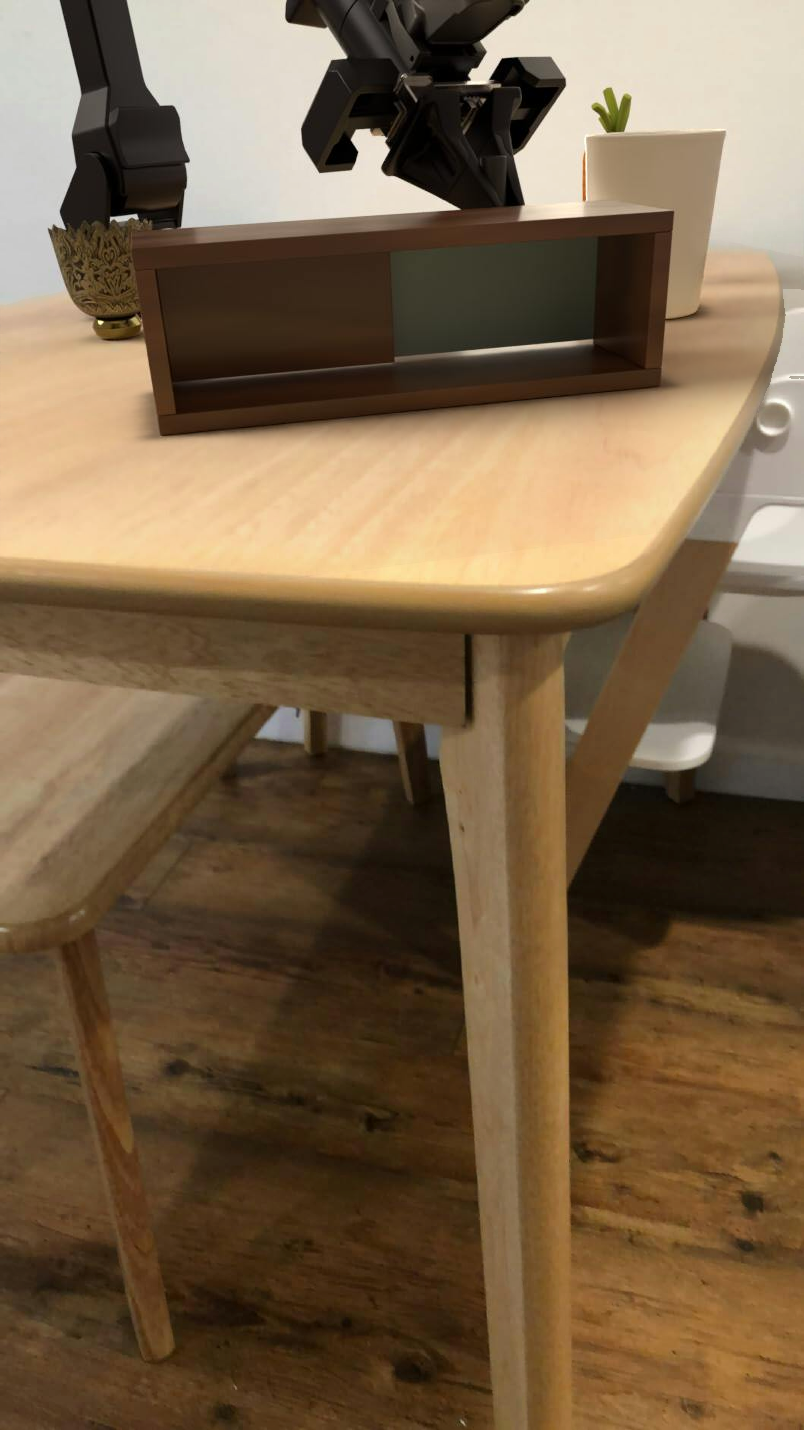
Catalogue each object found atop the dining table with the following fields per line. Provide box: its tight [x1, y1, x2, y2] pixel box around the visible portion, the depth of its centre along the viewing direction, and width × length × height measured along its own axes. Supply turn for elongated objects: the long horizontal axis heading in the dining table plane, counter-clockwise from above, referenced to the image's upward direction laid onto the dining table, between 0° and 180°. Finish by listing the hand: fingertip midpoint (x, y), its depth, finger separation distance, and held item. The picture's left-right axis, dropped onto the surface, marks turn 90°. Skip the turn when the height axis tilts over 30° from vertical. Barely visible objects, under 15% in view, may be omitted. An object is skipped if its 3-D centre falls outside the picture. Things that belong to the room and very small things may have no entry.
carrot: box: [581, 87, 633, 202], centre depth 87 cm, size 5×5×15 cm
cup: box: [47, 217, 152, 340], centre depth 78 cm, size 8×7×8 cm
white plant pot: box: [584, 128, 727, 320], centre depth 77 cm, size 10×10×12 cm
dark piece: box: [390, 155, 598, 357], centre depth 64 cm, size 5×13×10 cm, turn 103°
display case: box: [131, 200, 674, 436], centre depth 59 cm, size 10×28×9 cm, turn 103°
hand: (509, 218), depth 64 cm, fingers closed on dark piece, 2 cm apart
